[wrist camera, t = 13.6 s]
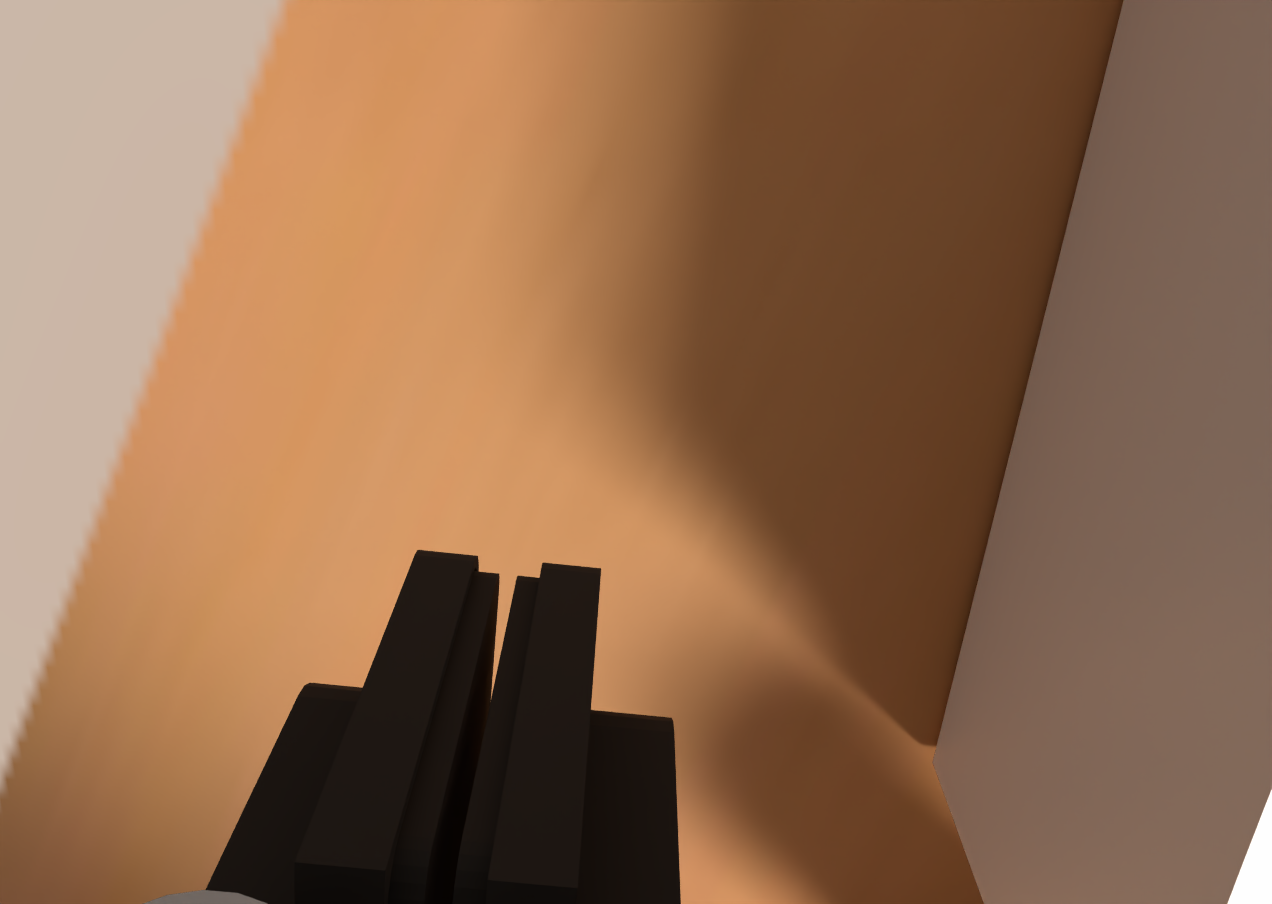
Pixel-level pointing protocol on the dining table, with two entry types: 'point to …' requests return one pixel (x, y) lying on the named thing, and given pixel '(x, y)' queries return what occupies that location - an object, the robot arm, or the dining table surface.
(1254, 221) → the grey open box
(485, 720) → the robot arm
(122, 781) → the dining table surface
